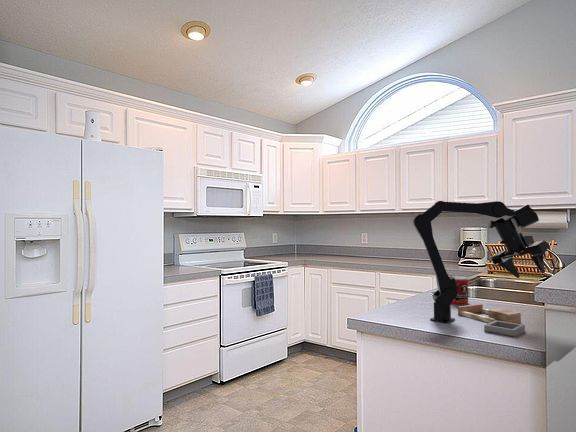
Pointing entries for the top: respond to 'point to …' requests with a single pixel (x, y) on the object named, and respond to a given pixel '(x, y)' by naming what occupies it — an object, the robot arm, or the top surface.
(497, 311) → the light brown wooden block
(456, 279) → the canned food
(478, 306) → the wooden lane
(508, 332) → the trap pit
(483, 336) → the top surface
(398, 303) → the top surface
